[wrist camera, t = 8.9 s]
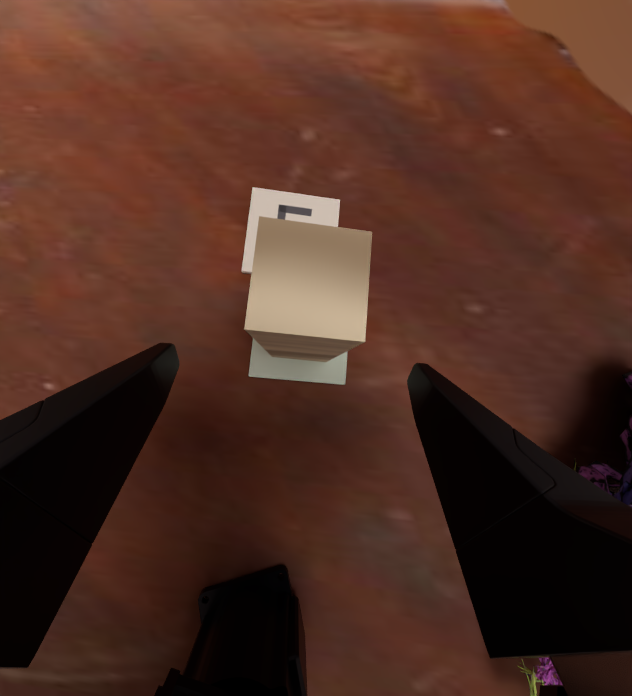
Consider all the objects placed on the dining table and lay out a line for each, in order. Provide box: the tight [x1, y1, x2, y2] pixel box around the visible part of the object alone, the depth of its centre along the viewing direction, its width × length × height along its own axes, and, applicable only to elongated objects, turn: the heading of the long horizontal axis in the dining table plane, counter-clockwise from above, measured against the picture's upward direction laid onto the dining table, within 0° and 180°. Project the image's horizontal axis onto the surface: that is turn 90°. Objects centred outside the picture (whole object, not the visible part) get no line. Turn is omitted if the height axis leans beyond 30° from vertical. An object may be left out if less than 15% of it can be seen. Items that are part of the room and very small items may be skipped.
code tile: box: [242, 187, 340, 274], centre depth 22 cm, size 8×8×1 cm
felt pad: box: [249, 338, 347, 385], centre depth 21 cm, size 8×8×1 cm
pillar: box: [244, 216, 372, 362], centre depth 15 cm, size 4×4×12 cm
